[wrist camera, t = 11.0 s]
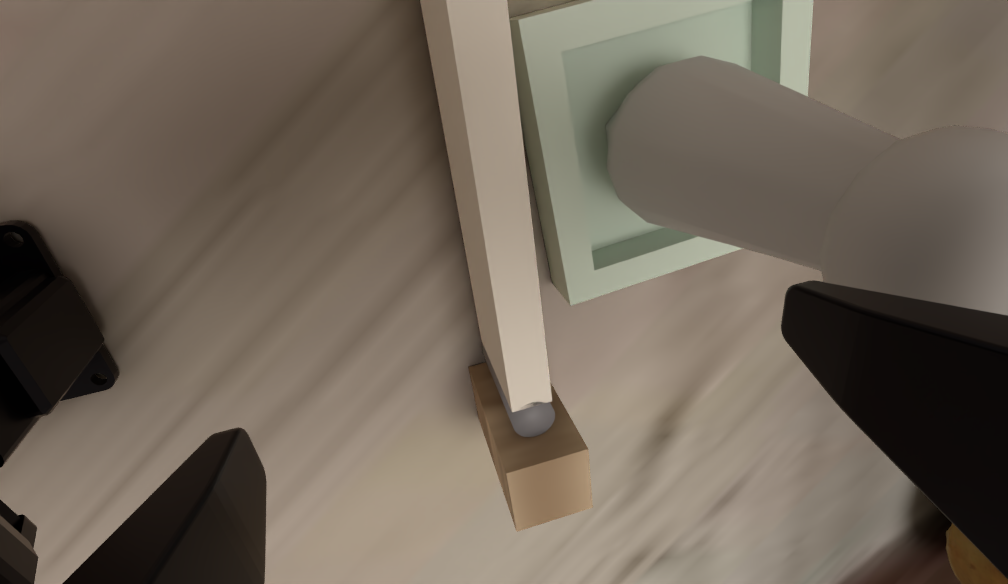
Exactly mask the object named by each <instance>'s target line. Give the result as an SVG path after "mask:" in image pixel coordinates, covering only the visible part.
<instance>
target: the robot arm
mask: <svg viewBox="0 0 1008 584" xmlns="http://www.w3.org/2000/svg"><path fill="white" fill-rule="evenodd" d="M11 232H15V233H17V234H19V235H20V236H21V237H22V238H23V241H24V243H19V242H17V241H15V240H14V239H13V238H12V237H11V234H10V233H11ZM781 330H782V334H783V337H784V339H785V340H786V342H787V343H788V344H789V346H790V347H791V348H792V349H793V351H794V352H795V353H796V354H797V355H798V357H799V358H800V359H801V360H802V362H803V363H804V364H805V365H806V367H807V368H808V369H809V370H810V372H811V373H812V374H813V375H814V377H815V378H816V379H817V380H818V381H819V383H820V384H821V385H822V386H823V388H824V389H825V390H826V391H827V393H828V394H829V395H830V396H831V398H832V399H833V400H834V401H835V402H836V403H837V405H838V406H839V407H840V408H841V409H842V410H843V411H844V412H845V413H846V415H847V416H848V417H849V418H850V419H851V420H852V421H853V422H854V423H855V424H856V425H857V426H858V427H859V428H860V429H861V430H862V431H863V432H864V433H865V434H866V435H867V436H868V437H869V438H870V439H871V440H872V441H873V442H874V443H875V444H876V445H877V446H878V447H879V448H880V449H881V451H882V452H883V453H884V454H885V455H886V456H887V457H888V458H889V459H890V460H891V461H892V462H893V463H894V464H895V465H896V466H897V467H898V468H899V469H900V470H901V471H902V472H903V473H904V474H905V475H906V476H907V477H908V478H909V479H910V480H911V481H912V482H913V483H914V484H915V485H916V486H917V487H918V488H919V489H920V490H921V491H922V492H923V494H924V495H925V496H926V497H927V498H928V499H929V500H930V501H931V502H932V503H933V504H934V505H935V506H936V507H937V508H938V509H939V510H940V511H941V512H942V513H943V514H944V515H945V516H946V517H947V518H948V519H949V520H950V521H951V522H952V523H953V524H954V525H955V526H956V527H957V528H958V529H959V530H960V531H961V532H962V533H963V534H964V535H965V536H966V538H967V539H968V540H969V541H970V542H971V543H972V544H973V545H974V546H975V547H976V548H977V549H978V550H979V551H980V552H981V553H982V554H983V555H984V556H985V557H986V558H987V559H988V560H989V561H990V562H991V563H992V564H993V565H994V566H995V567H996V568H997V569H998V570H999V571H1000V572H1001V573H1002V574H1003V575H1004V576H1005V577H1006V578H1007V579H1008V315H1003V314H997V313H992V312H986V311H981V310H975V309H970V308H964V307H959V306H953V305H948V304H942V303H936V302H931V301H925V300H920V299H914V298H909V297H903V296H898V295H892V294H887V293H881V292H876V291H870V290H864V289H859V288H853V287H848V286H842V285H837V284H831V283H826V282H820V281H807V282H803V283H799V284H795V285H792V286H791V287H789V288H788V290H787V292H786V295H785V302H784V309H783V316H782V323H781ZM103 342H104V337H103V335H102V334H101V332H100V330H99V328H98V327H97V325H96V323H95V322H94V320H93V318H92V316H91V315H90V313H89V311H88V309H87V308H86V306H85V304H84V303H83V301H82V299H81V297H80V296H79V294H78V292H77V290H76V289H75V287H74V285H73V284H72V282H71V281H70V280H69V279H67V278H65V277H63V275H62V273H61V271H60V270H59V268H58V266H57V265H56V263H55V261H54V259H53V258H52V256H51V254H50V253H49V251H48V249H47V247H46V246H45V244H44V242H43V241H42V239H41V237H40V235H39V234H38V232H37V231H36V230H35V229H34V227H32V226H31V225H29V224H28V223H25V222H22V221H8V222H3V223H0V467H2V466H3V465H4V464H5V462H6V461H7V460H8V458H9V457H10V456H11V455H12V453H13V452H14V451H15V449H16V448H17V447H18V446H19V444H20V443H21V442H22V440H23V439H24V438H25V437H26V435H27V434H28V433H29V432H30V430H31V429H32V428H33V426H34V425H35V424H36V423H37V421H38V420H39V419H40V417H41V416H45V415H48V414H50V413H51V412H52V411H53V409H54V408H55V407H56V405H57V404H58V403H59V401H63V400H67V399H71V398H75V397H79V396H83V395H87V394H91V393H96V392H100V391H104V390H107V389H109V388H111V387H112V386H113V385H114V384H115V382H116V381H117V379H118V376H119V372H118V369H117V367H116V366H115V364H114V362H113V361H112V359H111V357H110V355H109V354H108V352H107V350H106V349H105V347H104V345H103ZM95 373H100V374H103V375H105V376H106V377H107V379H101V378H98V377H97V376H96V375H95ZM36 531H37V527H36V525H34V524H33V523H32V522H31V521H30V520H29V519H28V518H27V517H26V516H25V515H17V514H15V513H14V512H13V511H12V510H11V509H10V508H9V507H8V506H7V505H6V504H5V503H3V502H2V501H1V500H0V584H34V580H35V574H36V568H37V561H38V556H37V554H36V553H35V551H34V549H33V547H34V542H35V536H36ZM265 545H266V475H265V471H264V467H263V465H262V463H261V461H260V459H259V457H258V454H257V452H256V450H255V448H254V446H253V444H252V442H251V440H250V437H249V435H248V434H247V432H246V431H245V430H244V429H242V428H234V429H230V430H226V431H223V432H219V433H215V434H213V435H211V436H210V437H209V438H208V439H207V440H206V441H205V442H204V443H203V444H202V445H201V446H200V447H199V448H198V449H197V450H196V451H195V452H194V453H193V454H192V455H191V456H190V457H189V458H188V459H187V460H186V461H185V462H184V463H183V464H182V465H181V466H180V467H179V468H178V469H177V470H176V471H175V472H174V473H173V474H172V475H171V476H170V477H169V478H168V479H167V480H166V481H165V482H164V483H163V484H162V485H161V486H160V487H159V488H158V489H157V490H156V491H155V492H154V493H153V494H152V495H151V496H150V497H149V498H148V499H147V500H146V501H145V502H144V503H143V504H142V505H141V506H140V507H139V508H138V509H137V510H136V511H135V512H134V513H133V514H132V515H131V516H130V517H129V518H128V519H127V520H126V521H125V522H124V523H123V524H122V525H121V526H120V527H119V528H118V529H117V530H116V531H115V532H114V533H113V534H112V535H111V536H110V537H109V538H108V539H107V540H106V541H105V542H104V543H103V544H102V545H101V546H100V547H99V548H98V549H97V550H96V551H95V552H94V553H93V554H92V555H91V556H90V557H89V558H88V559H87V560H86V561H85V562H84V563H83V564H82V565H81V566H80V567H79V568H78V569H77V570H76V571H75V572H74V573H73V574H72V575H71V576H70V577H69V578H68V579H67V580H66V581H65V582H64V583H63V584H264V582H265Z"/></svg>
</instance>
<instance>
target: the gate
mask: <svg viewBox="0 0 1008 584" xmlns="http://www.w3.org/2000/svg"><path fill="white" fill-rule="evenodd" d="M420 3H421V9H422V14H423V20H424V25H425V31H426V36H427V42H428V47H429V53H430V58H431V64H432V70H433V75H434V81H435V86H436V92H437V97H438V103H439V108H440V114H441V119H442V125H443V130H444V136H445V142H446V147H447V153H448V158H449V164H450V169H451V175H452V180H453V186H454V191H455V197H456V202H457V208H458V214H459V219H460V225H461V230H462V236H463V241H464V247H465V252H466V258H467V263H468V269H469V274H470V280H471V286H472V291H473V297H474V302H475V308H476V313H477V319H478V324H479V330H480V335H481V341H482V343H483V346H482V353H483V355H484V358H485V360H486V363H487V365H488V368H489V370H490V372H491V375H492V377H493V380H494V382H495V385H496V387H497V389H498V392H499V394H500V397H501V399H502V402H503V404H504V406H505V409H506V411H507V414H508V416H509V418H510V421H511V423H512V426H513V428H514V430H515V432H516V433H517V434H519V435H520V436H523V437H535V436H538V435H541V434H543V433H544V432H546V431H547V430H548V429H549V428H550V427H551V426H552V424H553V422H554V419H555V411H554V409H553V407H552V405H551V403H550V402H551V401H552V394H551V385H550V376H549V368H548V359H547V350H546V341H545V332H544V323H543V314H542V305H541V297H540V288H539V279H538V270H537V261H536V252H535V243H534V234H533V226H532V217H531V208H530V199H529V190H528V181H527V172H526V163H525V155H524V146H523V137H522V128H521V119H520V110H519V101H518V92H517V84H516V75H515V66H514V57H513V48H512V39H511V30H510V21H509V13H508V4H507V0H420Z"/></svg>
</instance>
